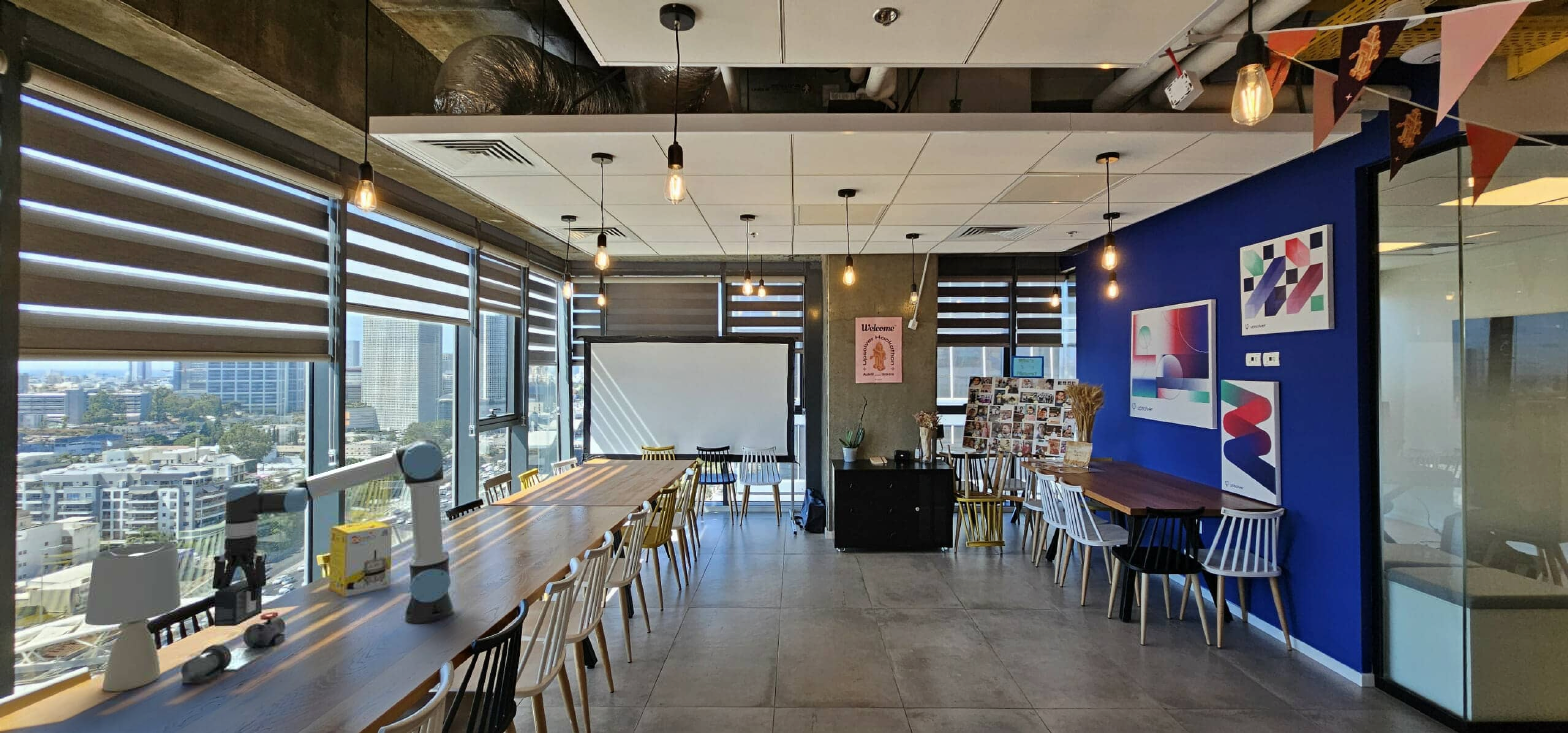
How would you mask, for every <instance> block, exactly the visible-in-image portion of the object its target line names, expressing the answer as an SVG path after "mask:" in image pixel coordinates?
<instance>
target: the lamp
mask: <svg viewBox="0 0 1568 733" xmlns="http://www.w3.org/2000/svg"><path fill="white" fill-rule="evenodd" d="M179 565H180V564H179V550H178V544H176V543H172V542H154V543H153V542H152V543H151V542H150V543H143V544H134V545H125V546H121V547H120V546H119V547H116V548H112V549H107V550H103V551H100V552H97V553H96V554H94V555H93V558H92V564H91V573H90V579H89V580H90V581H89V588H88V595H87V602H86V610H85V617H84V623H85V625H91V626H113V625H118V629H119V630H120V633H119V635H118V636H117V638H116V640H115V642H114V644H113V646H112V648H111V650H110V653H109V657H108V659H107V665H106V667H105V672H104V677H103V683H102V688H103V690H104V691H105V692H110V693H111V691H113V692H114V691H116V692H124V691H129V690H133V689H137V688H141V687H143V686H146V685H148V684H150V683H153V682H154V681H156V680H157V679H158V678H159V677H160V676H161V668H160V660H159V655H158V650H157V645H156V641H155V640H154V637H153V635H152V633H151V632H150V630H149V629H148V627H147V626H148V624H149V623H150V620H149V619H151V618H155V617H160V616H162V615H165V614H168V613H171V612H173V611H174V610H177V609H178V608H179V607H181V605H182V604H181V602H182V601H181V586H180V584H181V583H180V569H179ZM159 675H160V676H159ZM113 692H112V693H113ZM114 693H115V692H114Z"/></svg>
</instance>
